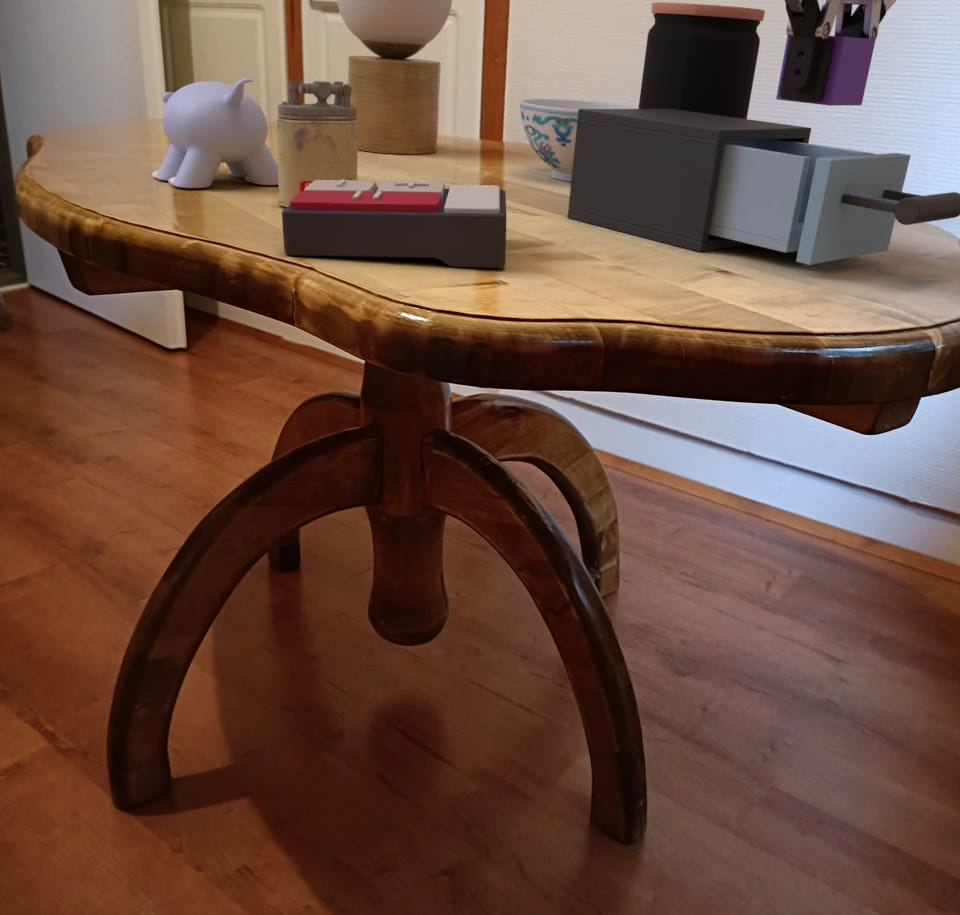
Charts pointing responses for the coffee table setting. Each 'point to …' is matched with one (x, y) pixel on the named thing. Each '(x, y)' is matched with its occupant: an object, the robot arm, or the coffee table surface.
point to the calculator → (399, 221)
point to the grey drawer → (817, 199)
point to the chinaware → (557, 129)
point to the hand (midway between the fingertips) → (820, 97)
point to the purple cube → (843, 71)
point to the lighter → (315, 138)
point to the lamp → (395, 73)
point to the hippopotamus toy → (215, 136)
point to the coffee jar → (701, 58)
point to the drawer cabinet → (658, 170)
